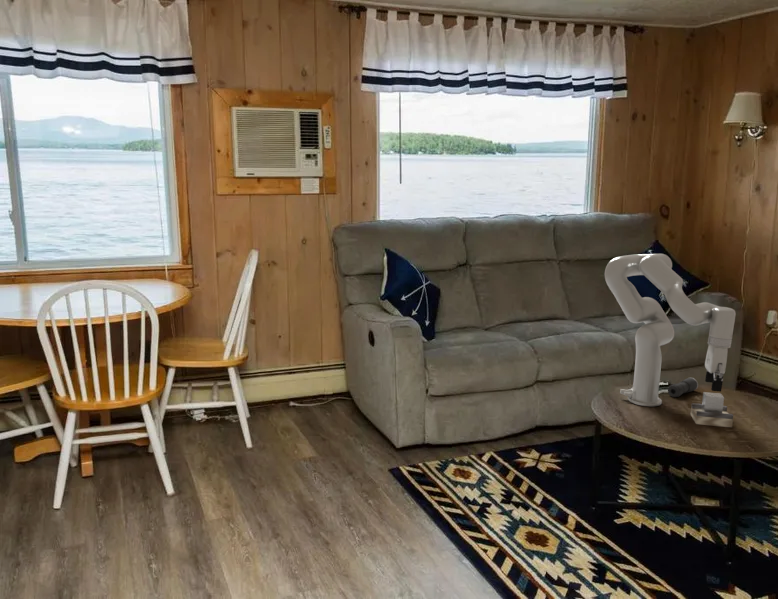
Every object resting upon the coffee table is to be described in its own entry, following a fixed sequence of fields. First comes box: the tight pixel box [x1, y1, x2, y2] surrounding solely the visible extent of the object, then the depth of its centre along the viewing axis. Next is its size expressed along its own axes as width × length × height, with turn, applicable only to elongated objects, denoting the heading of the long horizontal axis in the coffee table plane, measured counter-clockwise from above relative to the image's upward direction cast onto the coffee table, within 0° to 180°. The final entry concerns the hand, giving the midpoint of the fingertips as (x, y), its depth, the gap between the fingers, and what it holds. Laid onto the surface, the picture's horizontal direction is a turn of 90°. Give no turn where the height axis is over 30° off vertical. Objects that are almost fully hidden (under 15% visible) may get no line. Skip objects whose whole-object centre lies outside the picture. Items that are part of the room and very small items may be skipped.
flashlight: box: [667, 377, 699, 398], centre depth 278 cm, size 15×5×5 cm, turn 129°
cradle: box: [690, 402, 734, 428], centre depth 248 cm, size 12×10×4 cm
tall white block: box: [701, 391, 725, 413], centre depth 248 cm, size 6×4×7 cm
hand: (712, 386), depth 247 cm, fingers open, 9 cm apart
